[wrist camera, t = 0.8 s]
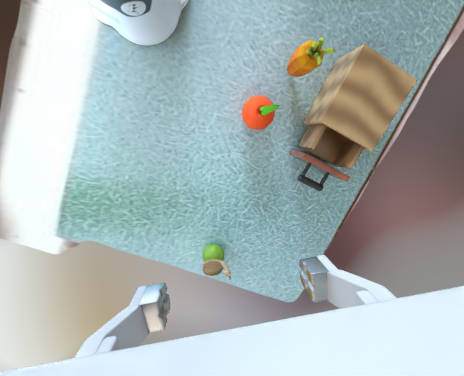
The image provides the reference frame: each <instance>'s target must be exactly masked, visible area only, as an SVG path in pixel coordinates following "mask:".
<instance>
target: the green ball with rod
mask: <svg viewBox="0 0 464 376" xmlns="http://www.w3.org/2000/svg"><path fill="white" fill-rule="evenodd" d="M203 259H204V261H205V262H204V263H203V265H204V266H203V272H204V273H205V274H207V275H210V276H214V275H217V274H219V273H220V272H221V271H222V269H224V274H225V275H226V276H229V280H230V279H231V275H230V273H231V272H230V270H229V268H228V266H227V265H226V263H225V262H224V261H223V259H224V251H223V249H222V247H221V246H219V245H217V244H211V245H208V246H207V247H206V248H205V249H204V252H203Z"/></svg>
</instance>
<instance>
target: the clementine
mask: <svg viewBox="0 0 464 376" xmlns="http://www.w3.org/2000/svg"><path fill="white" fill-rule="evenodd" d="M278 107H279V105H273V104H272V102H271V101H270V100H269V99H268V98H267V97H264V96H253V97H251V98H249V99H248V100H247V101H246V103H245V104H244V106H243V109H242V117H243V120H244V122H245V123H246V125H247V126H249V127H250V128H252V129H256V130H260V129H263V128H265V127H267V126H268V125H269V124H270V123H271V122H272V120H273V118H274V112H275V111H274V110H275V109H277V108H278Z"/></svg>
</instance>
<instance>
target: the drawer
mask: <svg viewBox="0 0 464 376" xmlns="http://www.w3.org/2000/svg"><path fill="white" fill-rule="evenodd" d="M298 146H299V147H301V148H303V149H305V150H307V151H308V152H310V153H312V154H314V155H316V156H318V157H320V158H321V159H323V160H325V161H327V162H329V163H331V164H333V165H335V166H339V167H343V168H346V169H350V170H351V168H352V167H353V165H354V163H355V162H356V160H357V158H358V157H359V155H360V154H361V152H362V150H363V149H364V147H362V146H361V145H359V144H357V143H355V142H354V141H352V140H350V139H349V138H347V137H345V136H343V135H342V134H340V133H338V132H336V131H335V130H333V129H331V128H329V127H328V126H326V125H324V124H323V123H322V124H310V125H309V127H308V129H307V131H306V133H305V134H304V136H303V138H302V140H301V142H300V143H299V145H298ZM290 155H292V156H294V157H296V158H298V159H300V160H302V161H304V162H306V163H307V166H306V167H305V169H304V171H303V173H302V175H299V176H298V181H300V182H302V183H304V184H306V185H308V186H310V187H312V188H314V189H316V190H318V191H321V190H322V189H323V184H324V182H325V180H326V179H327V177H328V175H331V176H333V177H336V178H339V179H341V180H344V181H347V182H348V180H349V178H350V176H348V175H346V174H344V173H342V172H340V171H338V170H336V169H335V168H333V167H331V166H329V165H327V164H325V163H323V162H321V161H320V160H318V159H316V158H314V157H312V156H310V155H308V154H306V153H304V152H300V151H296V150H292V151H291V153H290ZM310 166H313V167H315V168H317V169H319V170H321V171H323V172H325V173H326V174H325V175H324V177H323V179H322V180H321V182H320V184H319V183H317V182H315V181H313V180H311V179H309V178H307V177H305V174H306V173H307V171H308V169H309V167H310Z"/></svg>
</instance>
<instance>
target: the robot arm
mask: <svg viewBox="0 0 464 376" xmlns="http://www.w3.org/2000/svg"><path fill="white" fill-rule="evenodd" d="M90 1H91V2H92V3H90V2H89V1H87V3H88V4H89V5H90V6H91V7H93V12H94V15H95V16H96V17H97V19H98V20H99V21H101V22H103V23H105V24H107V25H110V26H112V27H113V28H115V29H116V30H117V31H118V32H119V33H120V34H121V35H122V36H123V37H125V38H126V39H127V40H129V41H131V42H133V43H136V44H139V45H145V46H150V45H156V44H159V43H161V42H163V41H165V40H166V39H167V38H168V37H169V36H170V35H171V34H172V33H173V32H174V30H175V28H176V26H177V24H178V21H179V18H180V14H181V11H182V9H183V8H184V7H185V5H186V4H187V3H188V1H189V0H90ZM299 266H300V267H301V271H300V278H301V282H302V284H303V286H304V288H305V289H307V290H308V295H309V296H310V298H311V300H312V301H313V302H320V301H326V300H328V301H329V302H330V303H332V304H333V305H335V306H336V307H338V308H339V309H337V310H331V311H326V312H321V313H316V314H310V315H305V316H299V317H294V318H289V319H283V320H278V321H272V322H267V323H262V324H256V325H251V326H246V327H240V328H235V329H230V330H224V331H219V332H213V333H208V334H202V335H197V336H192V337H186V338H181V339H176V340H170V341H165V342H159V343H154V344H149V345H143V346H140V345H141V343H142V342H143V341H144V340H145V338H146V337H147V336H148V335H149V333H152V332H156V331H161V330H165V326H166V322H167V317H166V315H167V314H168V313H169V310H170V298H169V295H168V294H167V293H166V291H167V286H166V284H165V283H160V284H154V285H148V286H142V287H138V289H137V291H136V293H135V295H134V297H133V299H132V301H131V303H130V305H129V307H128V308H125V309H124V310H122V311H121V312H120V313H119V314H117V315H116V316H115V317H114V318H112V319H111V320H110V321H109V322H107V323H106V324H105V325H104V326H102V327H101V328H100V329H99V330H97V331H96V332H95V333H94V334H92V335H91V336H90V337H89V338H88V339H86V340H85V342H84V343H83V345H82V346H81V348H80V350H79V351H78V353H77V354H76V356H75V358H73V359H69V360H63V361H57V362H52V363H47V364H41V365H36V366H31V367H25V368H20V369H15V370H9V371H2V372H0V376H464V286H461V287H455V288H450V289H444V290H439V291H434V292H429V293H423V294H418V295H412V296H407V297H402V298H396V297H395V296H394V295H393V294H392V293H391V292H390V291H389V290H387V289H386V288H385V287H384V286H382V285H379V284H377V283H374V282H372V281H369V280H366V279H364V278H361V277H359V276H356V275H353V274H351V273H348V272H346V271H343V270H338V269H337V268H336V267H335V266H334V265H333V264H332V263H331V261H330V260H329V259H328V258H327V257H326V256H325V255H320V256H315V257H311V258H306V259H300V260H299Z"/></svg>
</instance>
